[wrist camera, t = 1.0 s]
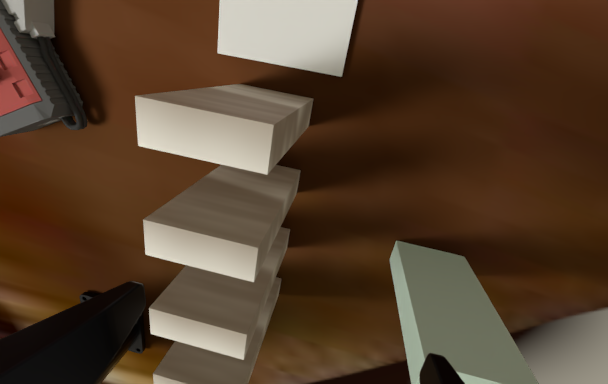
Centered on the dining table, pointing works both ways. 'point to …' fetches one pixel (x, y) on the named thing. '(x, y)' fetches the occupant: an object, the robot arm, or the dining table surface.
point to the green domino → (452, 318)
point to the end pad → (288, 32)
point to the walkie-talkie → (33, 71)
